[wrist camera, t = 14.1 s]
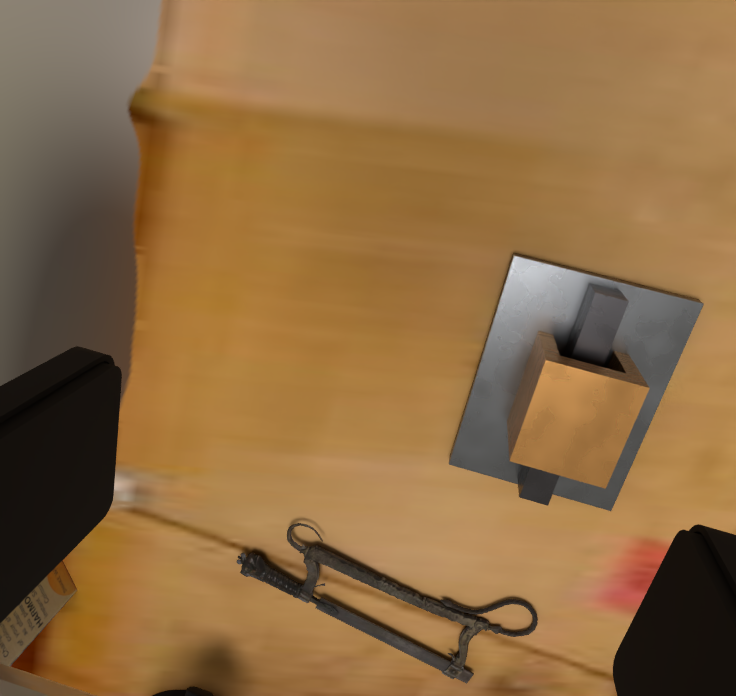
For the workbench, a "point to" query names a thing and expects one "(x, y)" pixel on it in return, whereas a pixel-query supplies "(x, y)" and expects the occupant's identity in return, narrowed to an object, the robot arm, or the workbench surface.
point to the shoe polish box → (34, 613)
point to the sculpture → (185, 692)
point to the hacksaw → (316, 554)
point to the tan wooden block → (574, 413)
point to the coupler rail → (554, 316)
